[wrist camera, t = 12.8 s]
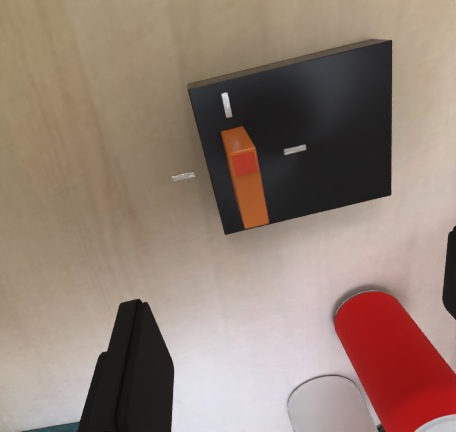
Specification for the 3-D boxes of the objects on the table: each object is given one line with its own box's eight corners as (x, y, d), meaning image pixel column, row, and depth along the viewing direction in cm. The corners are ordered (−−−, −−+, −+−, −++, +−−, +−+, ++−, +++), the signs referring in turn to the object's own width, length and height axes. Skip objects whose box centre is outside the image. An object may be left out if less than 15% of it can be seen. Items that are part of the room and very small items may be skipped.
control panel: (192, 225, 27) (192, 244, 25) (151, 92, 23) (147, 99, 20) (374, 182, 27) (392, 196, 25) (372, 39, 22) (393, 39, 20)
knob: (255, 191, 24) (270, 225, 19) (235, 196, 24) (245, 231, 19) (243, 125, 22) (256, 148, 17) (220, 131, 22) (228, 154, 17)
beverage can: (347, 278, 31) (429, 405, 21) (406, 290, 33) (512, 415, 22) (319, 329, 34) (380, 466, 23) (376, 338, 35) (458, 471, 24)
